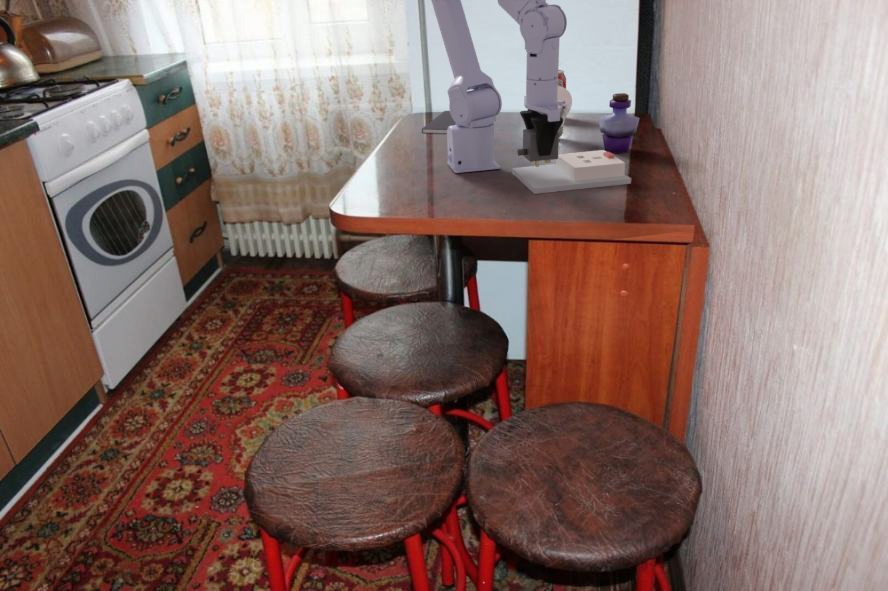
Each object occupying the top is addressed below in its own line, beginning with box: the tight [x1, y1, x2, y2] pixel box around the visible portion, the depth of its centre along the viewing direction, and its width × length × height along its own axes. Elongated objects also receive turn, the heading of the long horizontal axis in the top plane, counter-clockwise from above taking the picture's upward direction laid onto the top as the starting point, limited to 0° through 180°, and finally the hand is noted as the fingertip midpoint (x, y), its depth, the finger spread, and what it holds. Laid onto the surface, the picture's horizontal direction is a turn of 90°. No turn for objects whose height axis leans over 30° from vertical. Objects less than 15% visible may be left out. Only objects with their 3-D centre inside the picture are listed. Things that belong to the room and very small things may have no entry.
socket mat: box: [511, 163, 632, 195], centre depth 139 cm, size 19×14×1 cm
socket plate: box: [555, 149, 626, 181], centre depth 139 cm, size 10×10×3 cm
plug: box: [516, 128, 560, 167], centre depth 136 cm, size 4×7×6 cm, turn 102°
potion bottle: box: [598, 92, 641, 154], centre depth 154 cm, size 9×9×12 cm
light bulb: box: [557, 86, 573, 138], centre depth 165 cm, size 7×7×12 cm
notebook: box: [421, 110, 456, 134], centre depth 186 cm, size 13×2×21 cm
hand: (540, 151), depth 136 cm, fingers closed on plug, 4 cm apart
